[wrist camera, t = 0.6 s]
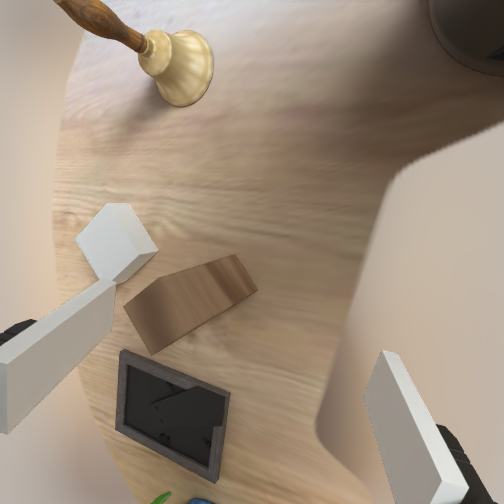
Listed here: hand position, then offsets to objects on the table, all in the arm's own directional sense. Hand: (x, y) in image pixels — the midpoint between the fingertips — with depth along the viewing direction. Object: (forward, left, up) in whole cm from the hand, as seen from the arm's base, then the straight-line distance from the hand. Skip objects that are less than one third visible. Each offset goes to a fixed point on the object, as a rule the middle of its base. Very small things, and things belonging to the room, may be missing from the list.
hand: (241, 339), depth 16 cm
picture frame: (+31, +5, -22) cm, 39 cm away
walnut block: (+11, -5, -22) cm, 25 cm away
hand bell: (+1, -29, -22) cm, 36 cm away
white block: (+22, -18, -22) cm, 36 cm away
